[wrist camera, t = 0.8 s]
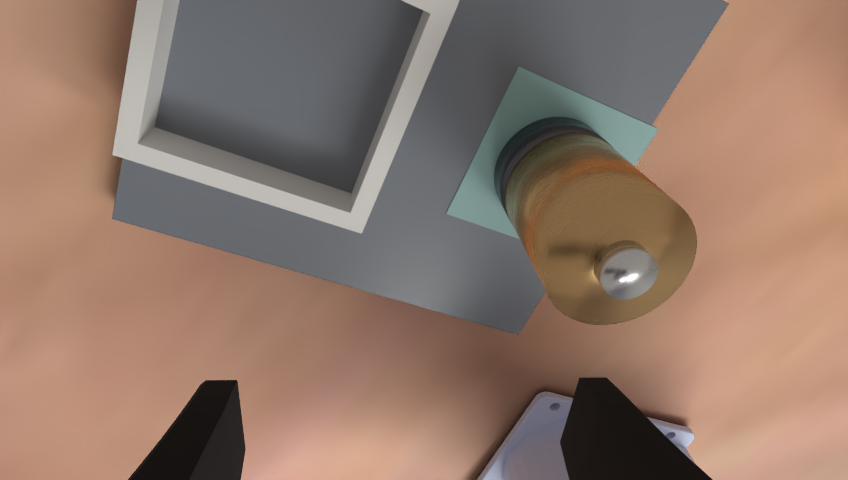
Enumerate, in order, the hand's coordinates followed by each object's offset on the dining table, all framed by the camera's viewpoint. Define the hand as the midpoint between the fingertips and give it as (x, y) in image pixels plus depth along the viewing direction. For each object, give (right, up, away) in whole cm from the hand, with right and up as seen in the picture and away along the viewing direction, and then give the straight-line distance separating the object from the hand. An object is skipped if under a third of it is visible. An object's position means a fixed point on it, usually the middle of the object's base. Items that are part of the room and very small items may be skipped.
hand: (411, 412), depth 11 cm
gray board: (0, +8, +7) cm, 11 cm away
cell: (+5, +6, +8) cm, 11 cm away
